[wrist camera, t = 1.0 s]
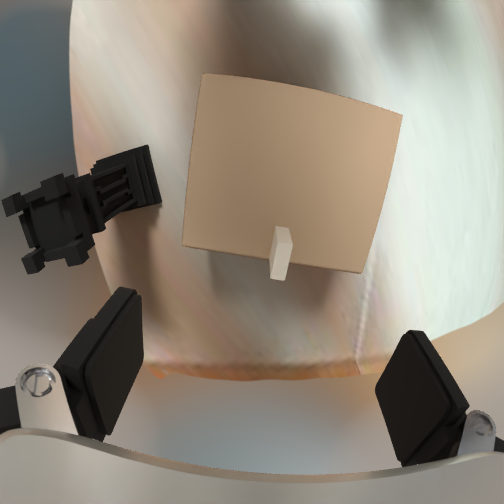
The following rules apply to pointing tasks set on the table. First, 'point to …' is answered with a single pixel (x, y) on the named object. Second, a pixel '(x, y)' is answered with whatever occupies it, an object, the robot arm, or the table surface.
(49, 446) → the robot arm
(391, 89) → the table surface
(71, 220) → the chess piece
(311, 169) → the lid flap
